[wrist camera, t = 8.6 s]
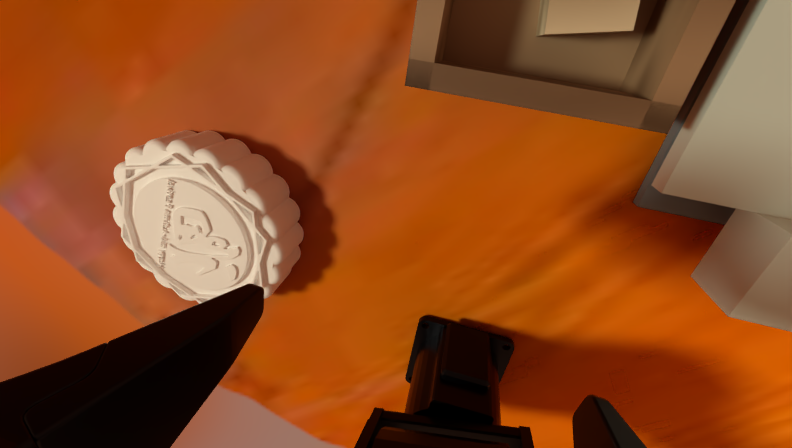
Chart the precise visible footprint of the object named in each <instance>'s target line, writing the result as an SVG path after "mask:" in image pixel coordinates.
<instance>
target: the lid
mask: <svg viewBox="0 0 792 448" xmlns="http://www.w3.org/2000/svg"><path fill="white" fill-rule="evenodd" d="M652 186H653V187H654V188H655V189H657V190H658V191H659V192H660V193H663V194H668V195H673V196H678V197H683V198H688V199H692V200H697V201H702V202H707V203H712V204H717V205H722V206H726V207H731V208H736V209H735V211H734V212H733V214H732V215H731V217H730V218H729V220H728V221H727V223H726V224H725V226H724V227H723V229H722V230H721V232H720V233H719V235H718V236H717V237H716V239H715V240H714V242H713V243H712V245H711V246H710V248H709V249H708V251H707V252H706V254H705V255H704V257H703V258H702V260H701V261H700V263H699V264H698V265H697V267H696V268H695V270H694V271H693V273H692V274H691V277H692V278H693V279H694V280H695V281H696V282H697V284H698V285H699V286H700V287H701V288H702V289H703V290H704V291H705V292H706V293H707V294H708V295H709V296H710V298H711V299H712V300H713V301H714V302H715V303H716V304H717V305H718V306H719V307H720V308H721V309H722V311H723V312H724V313H725V314H726V315H727V316H728V317H732V318H737V319H741V320H745V321H749V322H753V323H757V324H761V325H766V326H770V327H774V328H778V329H782V330H786V331H791V332H792V0H749V2H748V4H747V6H746V8H745V9H744V11H743V13H742V15H741V17H740V19H739V21H738V23H737V24H736V26H735V28H734V30H733V32H732V34H731V36H730V38H729V40H728V41H727V43H726V45H725V47H724V49H723V51H722V53H721V55H720V57H719V58H718V60H717V62H716V64H715V66H714V68H713V70H712V72H711V73H710V75H709V77H708V79H707V81H706V83H705V85H704V87H703V89H702V90H701V92H700V94H699V96H698V98H697V100H696V102H695V104H694V105H693V107H692V109H691V111H690V113H689V115H688V117H687V119H686V121H685V122H684V124H683V126H682V128H681V130H680V132H679V134H678V136H677V137H676V139H675V141H674V143H673V145H672V147H671V149H670V151H669V153H668V154H667V156H666V158H665V160H664V162H663V164H662V166H661V168H660V170H659V171H658V173H657V175H656V177H655V179H654V181H653V183H652Z"/></svg>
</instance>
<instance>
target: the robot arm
mask: <svg viewBox="0 0 792 448" xmlns="http://www.w3.org/2000/svg"><path fill="white" fill-rule="evenodd" d="M263 309H264V289H263V288H262V287H261V286H258V285H254V284H246V285H244V286H241V287H239V288H236V289H234V290H231V291H229V292H227V293H224V294H222V295H219V296H217V297H215V298H212V299H210V300H207V301H205V302H203V303H200V304H198V305H195V306H193V307H190V308H188V309H186V310H183V311H181V312H178V313H176V314H174V315H171V316H169V317H166V318H164V319H162V320H159V321H157V322H154V323H152V324H149V325H147V326H145V327H142V328H140V329H137V330H135V331H133V332H130V333H128V334H125V335H123V336H121V337H118V338H116V339H113V340H111V341H109V342H108V344H107V343H103V344H101V345H99V346H96V347H94V348H91V349H89V350H87V351H84V352H81V353H79V354H77V355H74V356H71V357H69V358H66V359H64V360H61V361H59V362H56V363H53V364H51V365H48V366H45V367H42V368H40V369H37V370H34V371H31V372H29V373H26V374H23V375H20V376H17V377H14V378H12V379H8V380H6V381H3V382H0V448H170V447H171V446H172V444H173V443H174V442H175V440H176V439H177V438H178V436H179V435H180V434H181V432H182V431H183V430H184V428H185V427H186V426H187V424H188V423H189V422H190V420H191V419H192V417H193V416H194V415H195V414H196V412H197V411H198V410H199V408H200V407H201V406H202V404H203V403H204V402H205V400H206V399H207V398H208V396H209V395H210V394H211V393H212V391H213V390H214V388H215V387H216V386H217V385H218V383H219V382H220V381H221V379H222V378H223V377H224V375H225V374H226V373H227V371H228V370H229V368H230V367H231V366H232V364H233V363H234V361H235V359H236V358H237V356H238V354H239V353H240V351H241V349H242V348H243V346H244V344H245V343H246V341H247V339H248V338H249V336H250V334H251V333H252V331H253V329H254V328H255V326H256V324H257V323H258V321H259V319H260V318H261V316H262V313H263ZM424 323H427V324H428V325H425V324H424ZM505 344H506V345H508V346H504V345H505ZM513 351H514V342H513V340H512V339H510V338H508V337H504V336H500V335H496V334H492V333H489V332H485V331H481V330H477V329H474V328H470V327H466V326H462V325H458V324H455V323H451V322H447V321H443V320H439V319H436V318H432V317H428V316H423V317H421V318H420V319H419V323H418V327H417V331H416V335H415V340H414V344H413V348H412V352H411V356H410V361H409V365H408V369H407V373H406V381H407V382H409V383H411V385H410V389H409V394H408V399H407V404H406V408H405V413H401V412H393V411H385V410H384V409H383V408H374V410H373V412H372V414H371V416H370V418H369V419H368V420H367V422H366V424H365V427H364V429H363V431H362V433H361V435H360V437H359V439H358V441H357V443H356V445H355V447H354V448H534V445H533V440H532V435H531V431H530V427H523V426H519V428H517V427H509V426H501V415H500V397H499V383H500V381H501V378H502V376H503V374H504V371H505V369H506V367H507V364H508V362H509V360H510V358H511V355H512V353H513ZM573 440H574V448H647V447H646V446H645V445H644V444H643V442H642V441H641V440H640V439H639V438H638V436H637V435H636V434H635V433H634V432H633V430H632V429H631V428H630V427H629V425H628V424H627V423H626V422H625V421H624V419H623V418H622V417H621V416H620V415H619V413H618V412H617V411H616V410H615V408H614V407H613V406H612V405H611V404H610V403H609V401H607V400H606V399H604V398H601V397H598V396H595V395H588V396H587V397H586V398H585V399H584V401H583V402H582V403H581V405H580V406H579V407H578V409H577V410H576V411H575V413H574V415H573Z"/></svg>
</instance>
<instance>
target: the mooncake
mask: <svg viewBox="0 0 792 448" xmlns="http://www.w3.org/2000/svg"><path fill="white" fill-rule="evenodd" d="M114 178H115V181H116V183H114V184H113V185H112V186H111V189H110V196H111V199H112V201H113V203H114V204H115V205H116V207H115V208H114V210H113V217H114V220H115V222H116V223H117V225H118V226H119V227H120V228H121V237H122V238H123V241H124V243H125V244H126V245H127V246H128V247H129V248H130V249H131V250H133V251H134V255H135V258H136V261H137V262H139V264H140V265H141V266H142V267H143V268H145V269H146V270H148V271H151V272H152V273H154V276H155V278H156V280H157V281H158V282H159V283H160V284H161V285H163V286H165V287H167V288H172V289H173V290H174V291H175V292H176V293H177V294H178V295H179V296H180V297H182V298H183V299H186V300H190V301H193V300H196V301H197V302H198V303H199V304H200V303H203V302H205V301H207V300H210V299H212V298H215V297H217V296H219V295H222V294H224V293H227V292H229V291H231V290H234V289H236V288H239V287H241V286H244V285H246V284H254V285H258V286H261V287H262V288H263V289H264V298H268V297H270V296H271V295H272V294H273V293H274V291H275V290H276V289H277V288H278V287H279V285H280V284H281V283H282V282H283V281H284V280H285V278H286V277H287V276H288V275H289V274H290V272H291V269H292V267H293V266H294V264H295V263H296V262H297V261H298V260H299V258H300V255H301V251H300V248H299V246H298V245H299V244H300V243H301V242H302V240H303V237H304V232H303V229H302V227H301V225H300V224H299V223H298V220H299V218H300V209H299V207H298V205H297V203H296V202H295V201H294V200H292V199H291V198H289V195H290V190H289V186H288V184H287V182H286V181H285V180H284V179H283V178H282V177H280V176H279V175H276V174H273V169H272V166H271V164H270V163H269V161H268V160H267V159H266V158H265V157H263V156H261V155H259V154H251V152H250V150H249V148H248V147H247V146H246V144H244V143H243V142H242V141H240V140H238V139H227V140H225V139H224V137H223V136H221V135H220V134H219V133H217V132H215V131H210V130H208V131H203V132H200V133H196V132H194V131H190V130H185V131H181V132H178V133H174V134H170V135H167V136H163V137H160V138H156V139H152V140H150V141H148V142H147V143H146V144H145V145H141V146H138V147H134V148H132V149H130V150H129V151H128V152H127V153H126V156H125V162H122V163H120V164H118V165H117V166H116V167H115V169H114Z"/></svg>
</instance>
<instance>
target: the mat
mask: <svg viewBox="0 0 792 448" xmlns="http://www.w3.org/2000/svg"><path fill="white" fill-rule="evenodd" d="M748 2H749V0H736V2H735V4H734V6H733V8H732V10H731V12H730V14H729V16H728V18H727V20H726V22H725V24H724V26H723V27H722V29H721V31H720V33H719V35H718V37H717V39H716V41H715V43H714V45H713V47H712V49H711V51H710V53H709V55H708V57H707V59H706V61H705V63H704V64H703V66H702V68H701V70H700V72H699V74H698V76H697V78H696V80H695V82H694V84H693V86H692V88H691V90H690V92H689V94H688V96H687V98H686V99H685V101H684V103H683V105H682V107H681V109H680V111H679V113H678V115H677V117H676V119H675V121H674V123H673V125H672V127H671V129H670V131H669V133H668V134H667V136H666V138H665V140H664V142H663V144H662V146H661V148H660V150H659V152H658V154H657V156H656V158H655V160H654V162H653V164H652V166H651V168H650V170H649V171H648V173H647V175H646V177H645V179H644V181H643V183H642V185H641V187H640V189H639V191H638V193H637V195H636V197H635V199H634V201H633V203H634V204H635V205H636V206H637V207H642V208H647V209H652V210H657V211H661V212H666V213H671V214H676V215H680V216H685V217H690V218H695V219H699V220H704V221H709V222H714V223H719V224H723V225H725V224H726V223H727V221H728V220H729V218H730V217H731V215H732V214H733V212H734V211H735V209H736V208H731V207H726V206H722V205H717V204H712V203H707V202H702V201H697V200H692V199H688V198H683V197H678V196H673V195H668V194H663V193H660V192H659V191H658V190H657V189H655V188H654V187H653V186H652V183H653V181H654V179H655V177H656V175H657V173H658V171H659V170H660V168H661V166H662V164H663V162H664V160H665V158H666V156H667V154H668V153H669V151H670V149H671V147H672V145H673V143H674V141H675V139H676V137H677V136H678V134H679V132H680V130H681V128H682V126H683V124H684V122H685V121H686V119H687V117H688V115H689V113H690V111H691V109H692V107H693V105H694V104H695V102H696V100H697V98H698V96H699V94H700V92H701V90H702V89H703V87H704V85H705V83H706V81H707V79H708V77H709V75H710V73H711V72H712V70H713V68H714V66H715V64H716V62H717V60H718V58H719V57H720V55H721V53H722V51H723V49H724V47H725V45H726V43H727V41H728V40H729V38H730V36H731V34H732V32H733V30H734V28H735V26H736V24H737V23H738V21H739V19H740V17H741V15H742V13H743V11H744V9H745V8H746V6H747V4H748Z"/></svg>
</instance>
